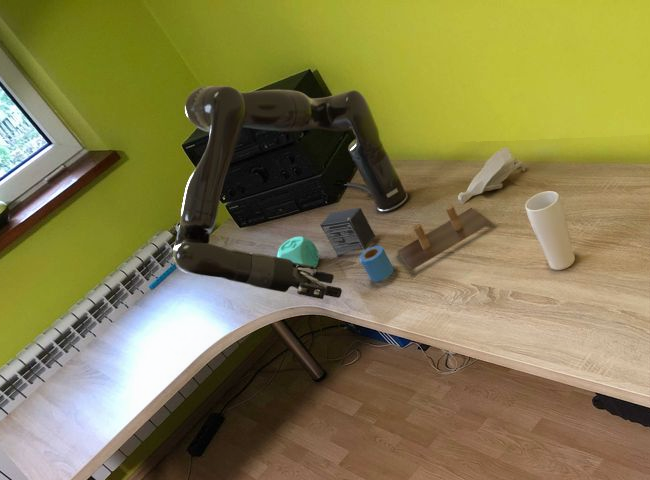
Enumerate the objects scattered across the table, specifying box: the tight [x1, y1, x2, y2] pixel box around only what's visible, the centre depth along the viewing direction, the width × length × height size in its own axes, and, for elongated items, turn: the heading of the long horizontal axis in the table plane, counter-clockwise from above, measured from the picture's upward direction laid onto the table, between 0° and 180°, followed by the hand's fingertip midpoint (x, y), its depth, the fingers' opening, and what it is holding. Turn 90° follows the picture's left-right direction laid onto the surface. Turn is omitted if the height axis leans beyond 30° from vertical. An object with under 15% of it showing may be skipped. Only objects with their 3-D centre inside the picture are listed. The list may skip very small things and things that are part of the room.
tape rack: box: [396, 204, 492, 271], centre depth 154 cm, size 12×22×8 cm, turn 111°
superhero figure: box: [457, 147, 526, 204], centre depth 164 cm, size 10×9×20 cm
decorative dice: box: [276, 236, 320, 269], centre depth 174 cm, size 8×8×8 cm
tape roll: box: [359, 245, 395, 283], centre depth 152 cm, size 6×6×8 cm
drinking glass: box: [524, 190, 576, 271], centre depth 126 cm, size 7×7×15 cm
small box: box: [319, 207, 376, 257], centre depth 169 cm, size 11×6×10 cm, turn 65°
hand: (336, 285), depth 151 cm, fingers open, 8 cm apart
